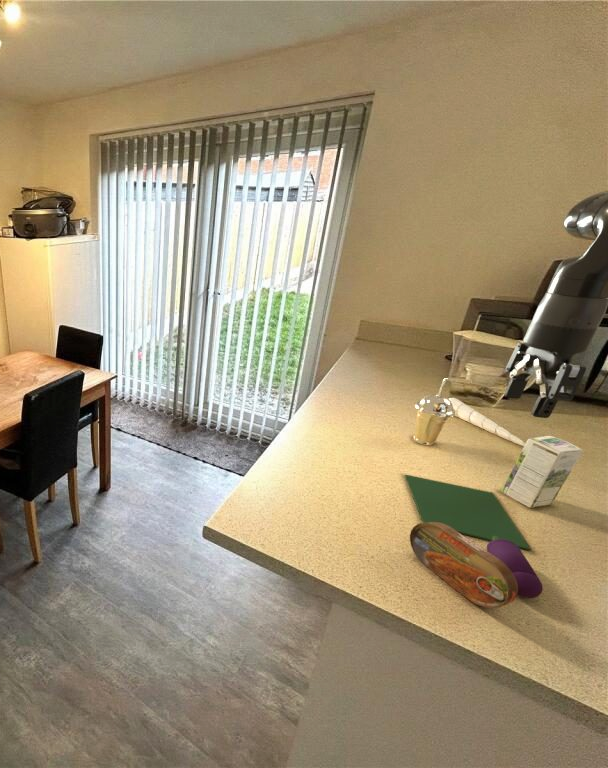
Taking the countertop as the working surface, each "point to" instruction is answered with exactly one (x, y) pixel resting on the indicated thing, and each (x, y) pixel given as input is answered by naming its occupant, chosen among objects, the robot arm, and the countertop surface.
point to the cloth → (463, 510)
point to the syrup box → (541, 471)
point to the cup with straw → (433, 415)
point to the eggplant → (516, 566)
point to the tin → (464, 565)
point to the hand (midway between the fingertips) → (524, 406)
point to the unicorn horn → (481, 421)
